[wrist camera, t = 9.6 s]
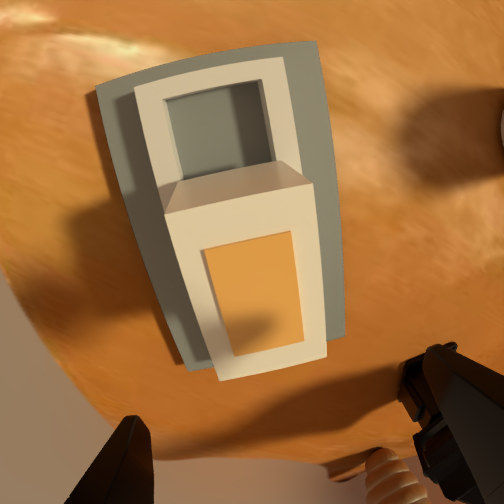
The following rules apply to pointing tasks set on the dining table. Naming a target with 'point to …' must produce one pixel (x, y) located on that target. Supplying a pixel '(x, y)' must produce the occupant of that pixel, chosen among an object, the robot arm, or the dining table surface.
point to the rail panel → (221, 156)
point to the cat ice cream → (391, 480)
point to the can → (502, 127)
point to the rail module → (252, 266)
